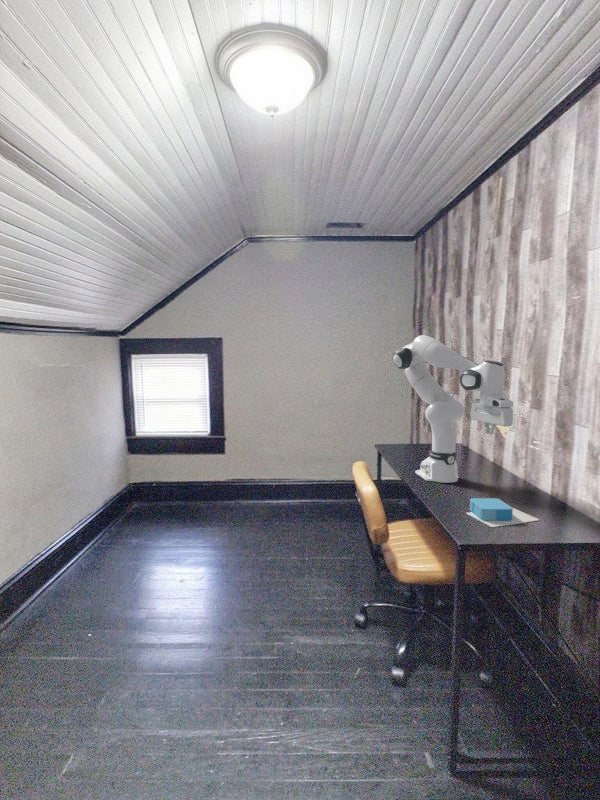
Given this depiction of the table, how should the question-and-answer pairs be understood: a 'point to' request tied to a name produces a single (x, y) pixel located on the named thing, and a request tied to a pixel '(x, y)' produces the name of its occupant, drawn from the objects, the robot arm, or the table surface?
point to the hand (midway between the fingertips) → (489, 433)
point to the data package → (491, 509)
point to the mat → (516, 519)
